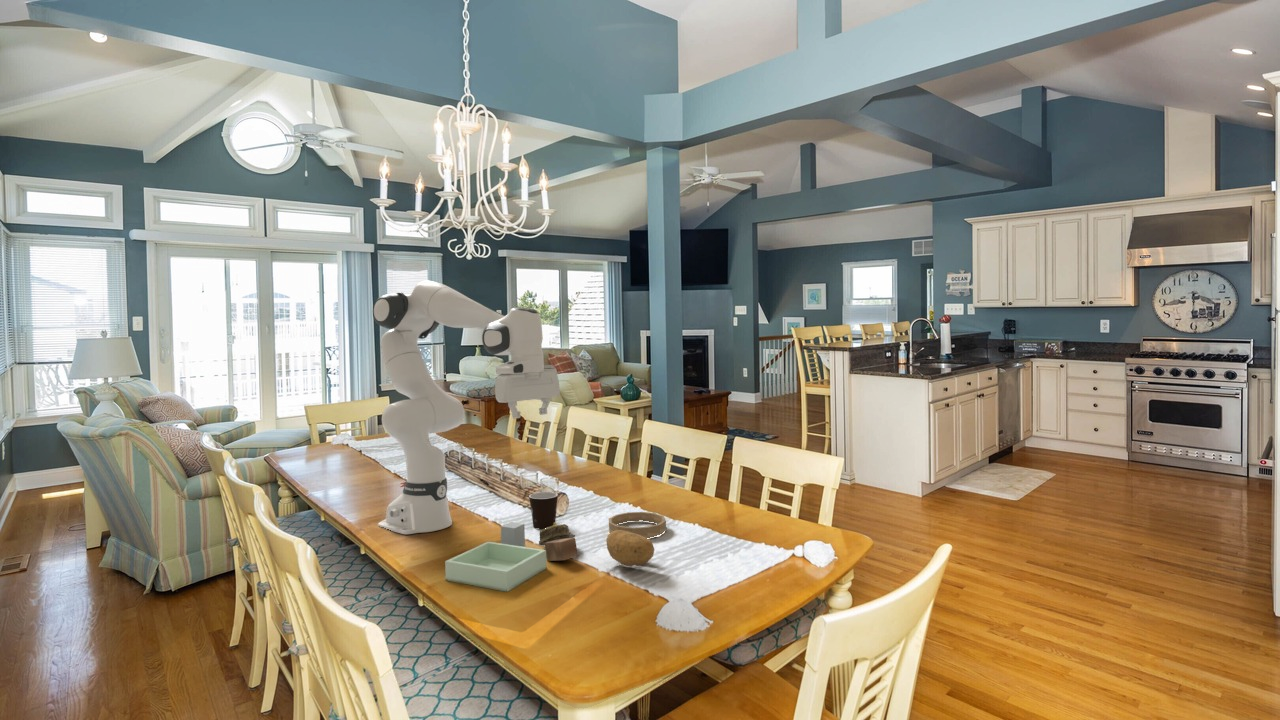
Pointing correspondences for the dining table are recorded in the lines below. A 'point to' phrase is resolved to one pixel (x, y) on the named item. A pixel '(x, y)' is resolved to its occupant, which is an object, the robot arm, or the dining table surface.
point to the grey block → (513, 534)
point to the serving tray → (496, 566)
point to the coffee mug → (543, 509)
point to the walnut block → (561, 549)
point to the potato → (629, 548)
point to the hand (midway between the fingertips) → (530, 416)
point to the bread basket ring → (637, 516)
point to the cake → (554, 533)
